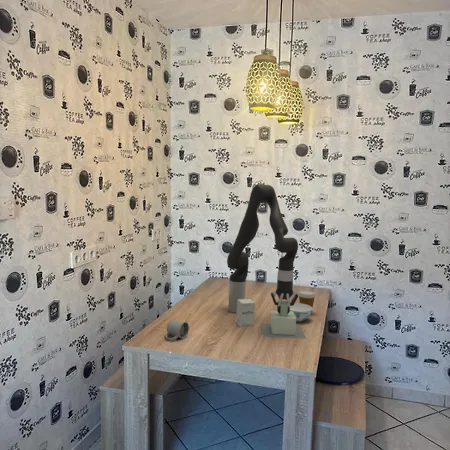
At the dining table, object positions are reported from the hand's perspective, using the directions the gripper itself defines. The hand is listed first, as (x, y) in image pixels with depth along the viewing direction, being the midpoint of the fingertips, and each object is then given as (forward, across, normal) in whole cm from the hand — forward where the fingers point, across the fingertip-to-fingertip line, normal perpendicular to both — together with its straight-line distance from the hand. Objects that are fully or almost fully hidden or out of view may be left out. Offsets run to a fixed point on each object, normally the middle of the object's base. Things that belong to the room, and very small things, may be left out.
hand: (283, 313), depth 211 cm
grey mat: (+10, 0, 0) cm, 10 cm away
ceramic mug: (+10, -50, -12) cm, 53 cm away
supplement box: (+10, -18, +9) cm, 22 cm away
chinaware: (+10, +10, +18) cm, 23 cm away
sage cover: (+9, 0, 0) cm, 9 cm away
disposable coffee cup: (+10, +17, +32) cm, 37 cm away
